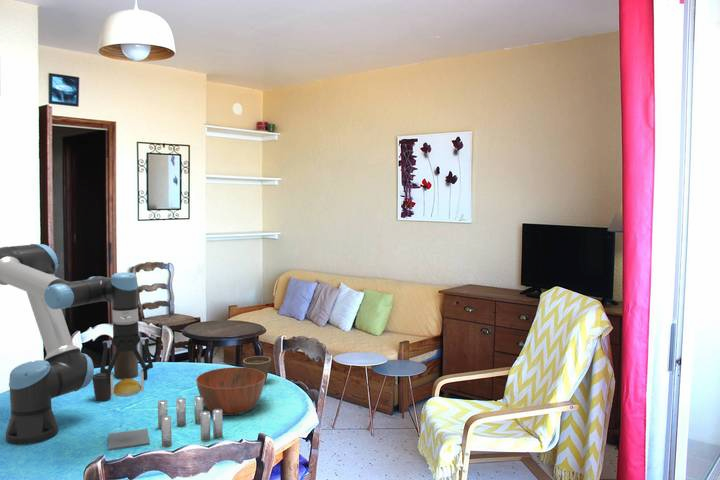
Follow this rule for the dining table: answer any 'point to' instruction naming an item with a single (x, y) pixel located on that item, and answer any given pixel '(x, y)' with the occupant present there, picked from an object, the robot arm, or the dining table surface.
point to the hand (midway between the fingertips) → (127, 391)
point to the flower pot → (258, 364)
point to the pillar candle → (126, 365)
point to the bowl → (231, 389)
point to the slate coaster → (128, 439)
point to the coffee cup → (101, 387)
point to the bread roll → (127, 388)
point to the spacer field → (200, 418)
